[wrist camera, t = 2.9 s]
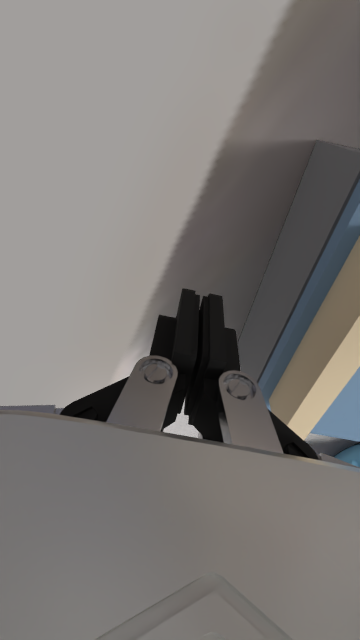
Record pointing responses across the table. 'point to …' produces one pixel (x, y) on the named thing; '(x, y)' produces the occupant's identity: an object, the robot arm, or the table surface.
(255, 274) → the table surface
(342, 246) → the lid
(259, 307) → the base
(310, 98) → the table surface
